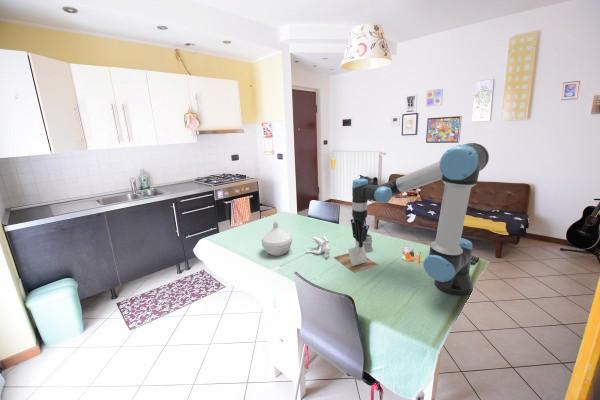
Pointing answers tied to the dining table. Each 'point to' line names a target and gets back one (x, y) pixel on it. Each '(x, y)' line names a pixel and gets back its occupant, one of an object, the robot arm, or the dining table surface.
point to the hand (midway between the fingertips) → (359, 252)
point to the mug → (368, 243)
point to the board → (346, 262)
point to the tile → (357, 256)
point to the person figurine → (321, 246)
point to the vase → (276, 241)
